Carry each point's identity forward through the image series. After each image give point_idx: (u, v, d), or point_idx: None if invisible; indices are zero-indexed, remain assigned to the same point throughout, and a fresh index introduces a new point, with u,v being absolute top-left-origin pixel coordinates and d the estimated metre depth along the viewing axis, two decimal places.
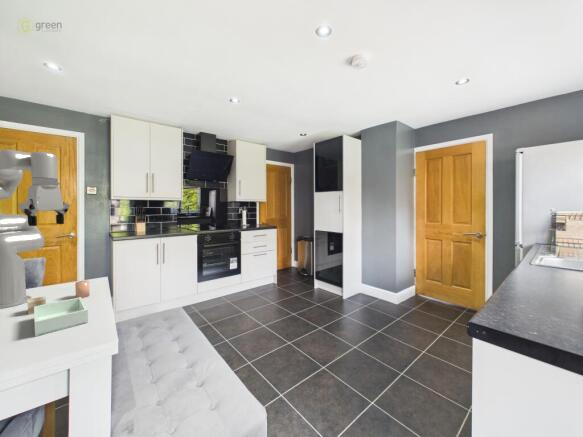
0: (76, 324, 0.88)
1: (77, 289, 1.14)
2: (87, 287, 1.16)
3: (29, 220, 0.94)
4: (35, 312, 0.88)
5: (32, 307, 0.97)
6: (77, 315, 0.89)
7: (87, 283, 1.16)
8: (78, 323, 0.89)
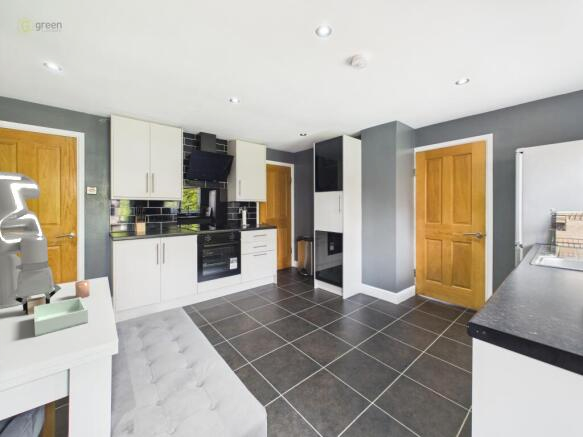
0: (76, 324, 0.88)
1: (77, 289, 1.14)
2: (87, 287, 1.16)
3: (49, 302, 1.03)
4: (35, 312, 0.88)
5: (32, 307, 0.97)
6: (77, 315, 0.89)
7: (87, 283, 1.16)
8: (78, 323, 0.89)
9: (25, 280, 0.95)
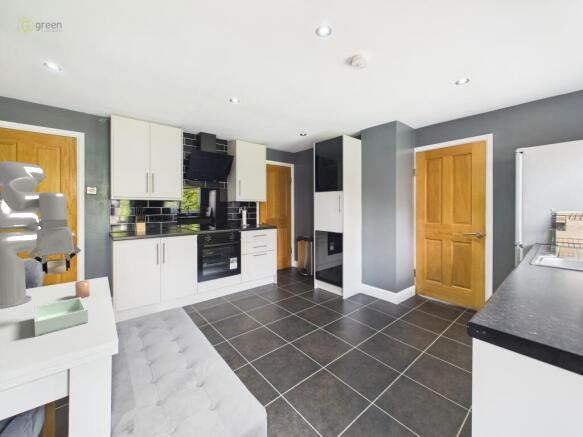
0: (76, 324, 0.88)
1: (77, 289, 1.14)
2: (87, 287, 1.16)
3: (69, 264, 0.97)
4: (35, 312, 0.88)
5: (52, 267, 0.91)
6: (77, 315, 0.89)
7: (87, 283, 1.16)
8: (78, 323, 0.89)
9: (44, 237, 0.89)
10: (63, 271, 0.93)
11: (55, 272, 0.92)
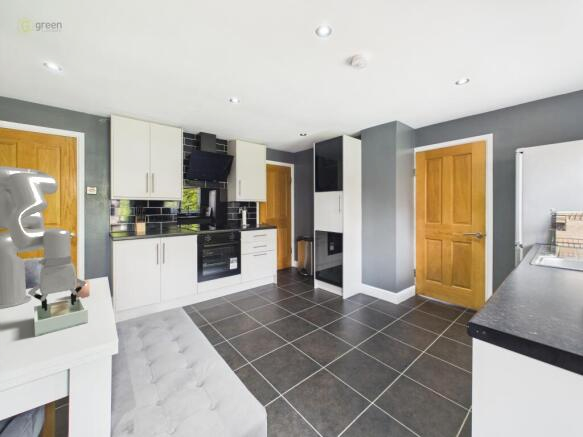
0: (76, 324, 0.88)
1: None
2: (87, 287, 1.16)
3: (75, 298, 0.98)
4: (35, 312, 0.88)
5: (55, 312, 0.92)
6: (77, 315, 0.89)
7: (87, 283, 1.16)
8: (78, 323, 0.89)
9: (48, 276, 0.90)
10: None
11: None
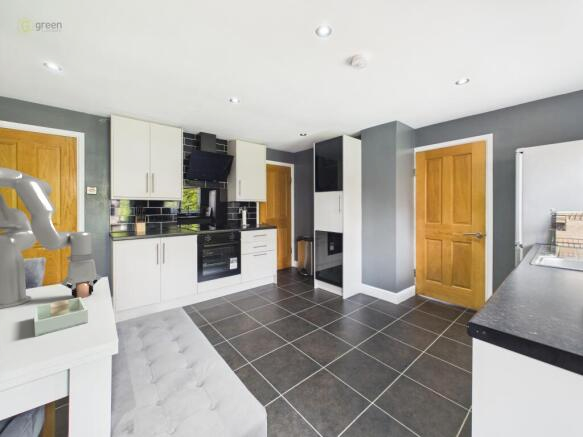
0: (76, 324, 0.88)
1: (77, 289, 1.14)
2: (87, 287, 1.16)
3: (92, 289, 1.19)
4: (35, 312, 0.88)
5: (55, 312, 0.92)
6: (77, 315, 0.89)
7: (87, 283, 1.16)
8: (78, 323, 0.89)
9: (74, 269, 1.12)
10: None
11: None
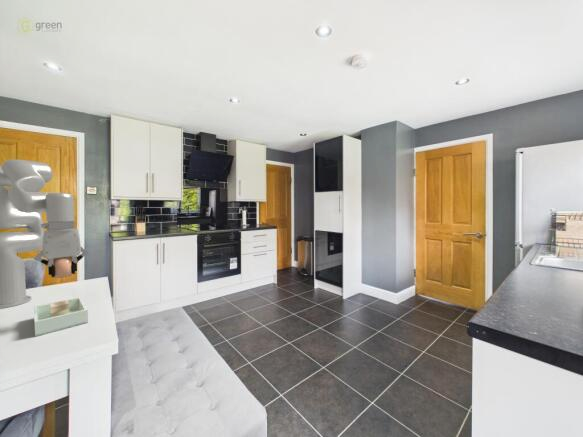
0: (76, 324, 0.88)
1: (56, 266, 0.88)
2: (69, 264, 0.90)
3: (76, 267, 0.93)
4: (35, 312, 0.88)
5: (55, 312, 0.92)
6: (77, 315, 0.89)
7: (69, 259, 0.90)
8: (78, 323, 0.89)
9: (51, 240, 0.86)
10: None
11: None
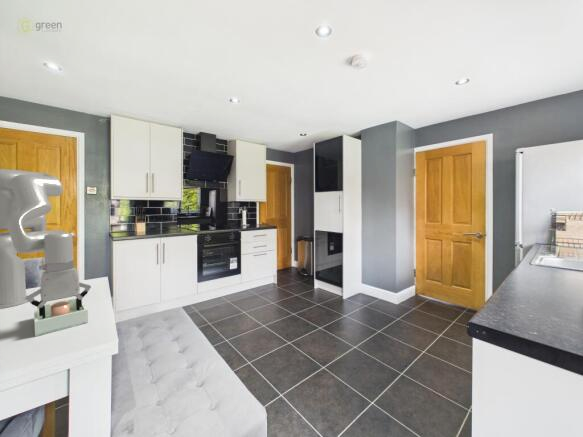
0: (76, 324, 0.88)
1: (53, 314, 0.86)
2: (67, 311, 0.89)
3: None
4: (35, 312, 0.88)
5: None
6: (77, 315, 0.89)
7: (67, 306, 0.89)
8: (78, 323, 0.89)
9: (49, 282, 0.84)
10: None
11: None
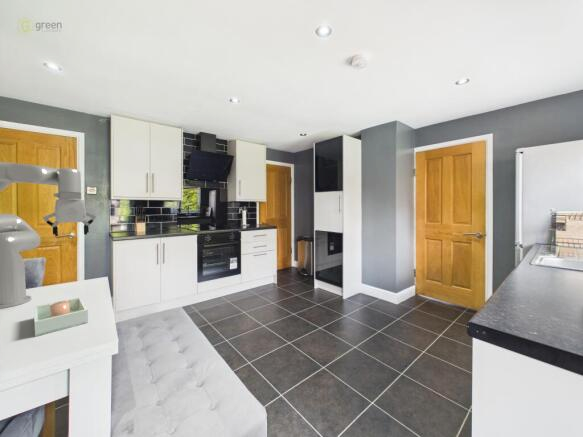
0: (76, 324, 0.88)
1: (53, 314, 0.86)
2: (67, 310, 0.89)
3: None
4: (35, 312, 0.88)
5: None
6: (77, 315, 0.89)
7: (67, 305, 0.89)
8: (78, 323, 0.89)
9: (62, 206, 1.04)
10: None
11: None
